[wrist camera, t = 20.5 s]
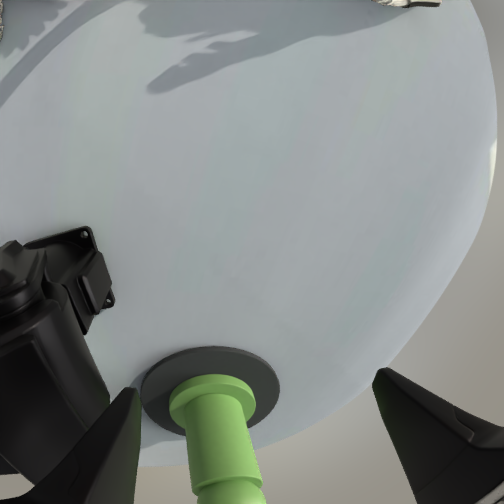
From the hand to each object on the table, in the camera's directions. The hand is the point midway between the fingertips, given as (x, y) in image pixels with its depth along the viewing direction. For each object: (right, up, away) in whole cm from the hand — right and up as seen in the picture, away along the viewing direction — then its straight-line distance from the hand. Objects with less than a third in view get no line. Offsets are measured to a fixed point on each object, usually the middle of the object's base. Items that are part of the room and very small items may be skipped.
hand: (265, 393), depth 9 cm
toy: (-4, -10, +17) cm, 20 cm away
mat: (-5, -10, +17) cm, 20 cm away
